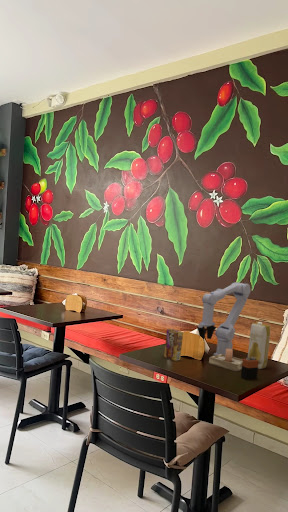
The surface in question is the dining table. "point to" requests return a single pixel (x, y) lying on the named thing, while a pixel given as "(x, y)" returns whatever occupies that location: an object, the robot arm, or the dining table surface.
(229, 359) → the peg
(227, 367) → the tray
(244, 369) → the battery
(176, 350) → the candy box
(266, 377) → the dining table surface
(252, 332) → the juice carton
